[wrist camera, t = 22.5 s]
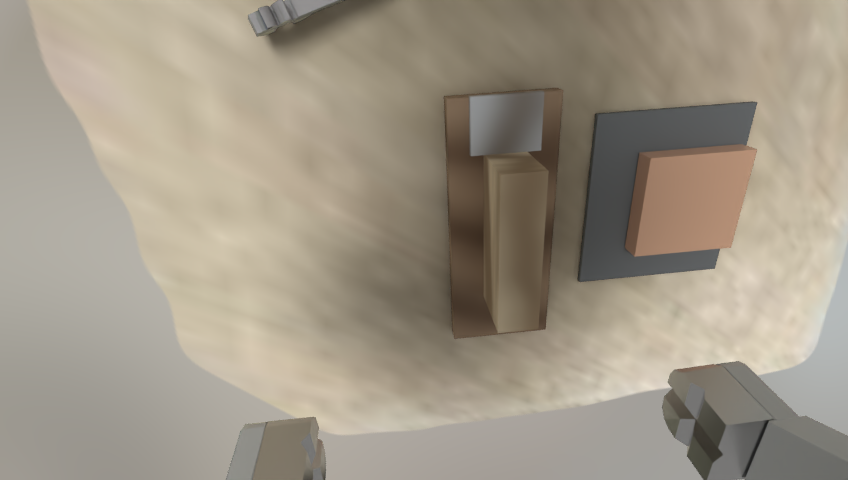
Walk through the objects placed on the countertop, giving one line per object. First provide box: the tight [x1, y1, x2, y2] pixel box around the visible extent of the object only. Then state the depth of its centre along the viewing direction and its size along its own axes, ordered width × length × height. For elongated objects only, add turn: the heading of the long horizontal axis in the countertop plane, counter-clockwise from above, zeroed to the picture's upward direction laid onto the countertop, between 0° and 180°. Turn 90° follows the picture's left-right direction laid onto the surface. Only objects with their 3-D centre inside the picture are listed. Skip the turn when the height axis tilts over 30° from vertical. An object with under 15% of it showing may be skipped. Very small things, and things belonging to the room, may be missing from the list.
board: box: [444, 88, 563, 339], centre depth 36 cm, size 20×8×1 cm, turn 3°
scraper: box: [469, 90, 549, 333], centre depth 32 cm, size 5×16×5 cm, turn 3°
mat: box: [578, 102, 757, 282], centre depth 36 cm, size 14×12×1 cm
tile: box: [625, 144, 757, 257], centre depth 36 cm, size 8×2×8 cm
